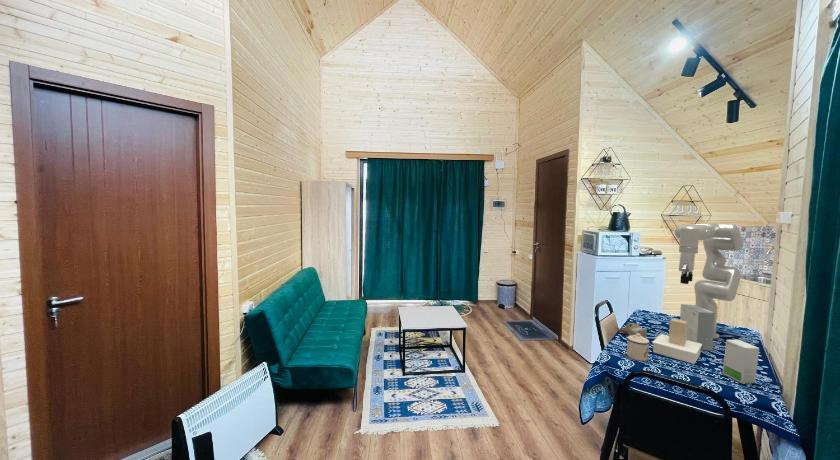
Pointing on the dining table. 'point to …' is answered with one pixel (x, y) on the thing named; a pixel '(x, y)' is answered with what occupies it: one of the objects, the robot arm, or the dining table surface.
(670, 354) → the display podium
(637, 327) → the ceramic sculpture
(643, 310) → the dining table surface
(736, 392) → the dining table surface
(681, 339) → the kraft carton
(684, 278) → the robot arm
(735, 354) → the skincare box
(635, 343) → the teacup with lid
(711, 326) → the hard drive box
